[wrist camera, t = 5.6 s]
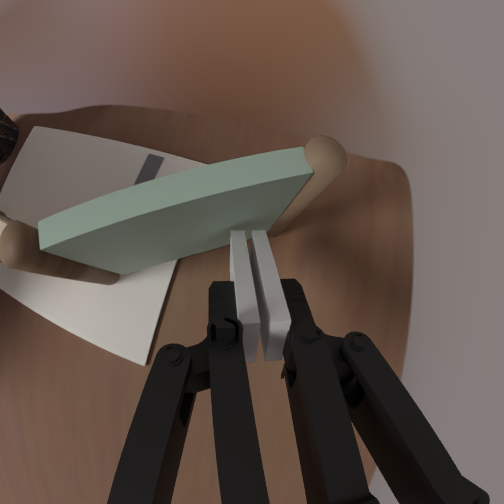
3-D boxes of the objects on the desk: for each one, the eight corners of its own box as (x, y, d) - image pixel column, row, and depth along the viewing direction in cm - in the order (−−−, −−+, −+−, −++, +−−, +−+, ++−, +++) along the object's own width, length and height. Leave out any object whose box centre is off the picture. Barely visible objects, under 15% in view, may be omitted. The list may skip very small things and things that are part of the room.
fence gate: (124, 278, 19) (38, 256, 8) (119, 256, 20) (34, 213, 8) (286, 233, 21) (353, 170, 10) (279, 212, 22) (337, 133, 10)
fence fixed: (-12, 242, 18) (-91, 213, 6) (-2, 210, 19) (-76, 168, 7) (110, 307, 19) (11, 312, 7) (123, 264, 20) (34, 227, 8)
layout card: (-22, 270, 18) (-25, 270, 17) (35, 127, 21) (34, 125, 21) (145, 365, 19) (144, 366, 19) (212, 167, 22) (212, 165, 22)
